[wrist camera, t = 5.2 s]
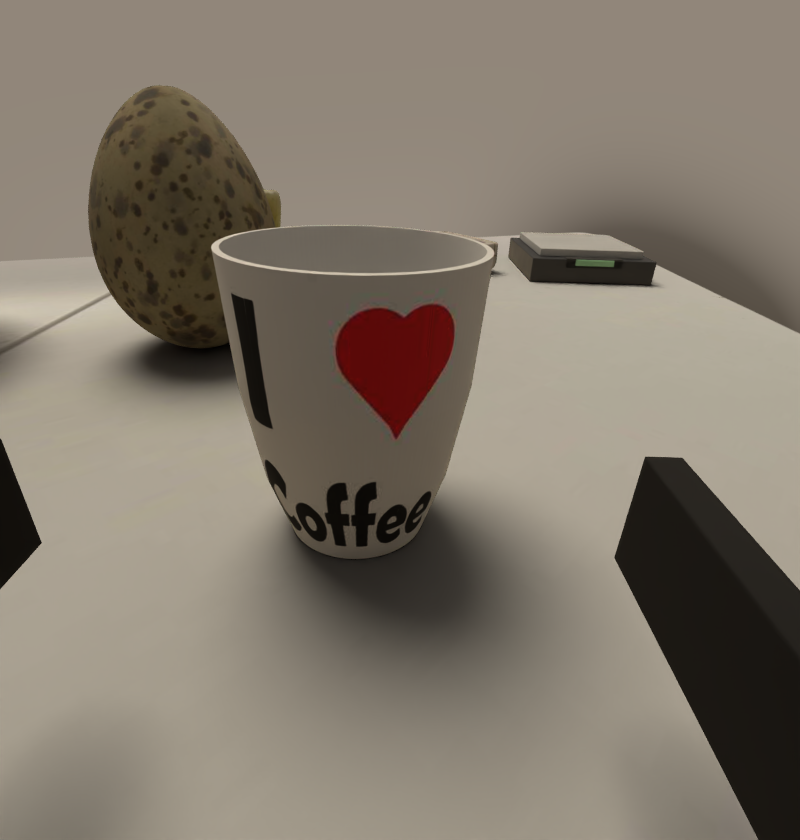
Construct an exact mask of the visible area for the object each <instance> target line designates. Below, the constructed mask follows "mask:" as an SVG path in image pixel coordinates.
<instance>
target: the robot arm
mask: <svg viewBox="0 0 800 840" xmlns="http://www.w3.org/2000/svg"><path fill="white" fill-rule="evenodd" d="M40 544H41V540H40V537H39V535H38V532H37V530H36V527H35V525H34V522H33V520H32V517H31V514H30V512H29V509H28V507H27V504H26V502H25V499H24V497H23V494H22V491H21V489H20V486H19V484H18V481H17V479H16V476H15V474H14V471H13V468H12V466H11V463H10V461H9V458H8V456H7V453H6V451H5V448H4V445H3V443H2V440H1V439H0V589H1V588H2V587H3V586H4V584H5V583H6V582H7V581H8V580H9V579H10V578H11V577H12V575H13V574H14V573H15V572H16V571H17V570H18V569H19V568H20V567H21V565H22V564H23V563H24V562H25V561H26V560H27V559H28V558H29V557H30V555H31V554H32V553H33V552H34V551H35V550H36V549H37V548H38V546H39V545H40ZM615 560H616V562H617V564H618V566H619V568H620V569H621V571H622V573H623V575H624V577H625V579H626V581H627V583H628V585H629V587H630V589H631V591H632V593H633V595H634V597H635V599H636V601H637V603H638V605H639V607H640V609H641V611H642V613H643V615H644V616H645V618H646V620H647V622H648V624H649V626H650V628H651V630H652V632H653V634H654V636H655V638H656V640H657V642H658V644H659V646H660V648H661V650H662V652H663V654H664V656H665V658H666V660H667V662H668V663H669V665H670V667H671V669H672V671H673V673H674V675H675V677H676V679H677V681H678V683H679V685H680V687H681V689H682V691H683V693H684V695H685V697H686V699H687V701H688V703H689V705H690V707H691V709H692V711H693V712H694V714H695V716H696V718H697V720H698V722H699V724H700V726H701V728H702V730H703V732H704V734H705V736H706V738H707V740H708V742H709V744H710V746H711V748H712V750H713V752H714V754H715V756H716V758H717V759H718V761H719V763H720V765H721V767H722V769H723V771H724V773H725V775H726V777H727V779H728V781H729V783H730V785H731V787H732V789H733V791H734V793H735V795H736V797H737V799H738V801H739V803H740V805H741V806H742V808H743V810H744V812H745V814H746V816H747V818H748V820H749V822H750V824H751V826H752V828H753V830H754V832H755V834H756V836H757V838H758V840H800V590H799V589H798V588H797V587H796V586H795V585H794V584H793V582H792V581H791V580H790V579H789V578H788V577H787V576H786V574H785V573H784V572H783V571H782V570H781V569H780V568H779V567H778V565H777V564H776V563H775V562H774V561H773V560H772V559H771V558H770V556H769V555H768V554H767V553H766V552H765V551H764V550H763V548H762V547H761V546H760V545H759V544H758V543H757V542H756V541H755V539H754V538H753V537H752V536H751V535H750V534H749V533H748V532H747V530H746V529H745V528H744V527H743V526H742V525H741V524H740V523H739V521H738V520H737V519H736V518H735V517H734V516H733V515H732V513H731V512H730V511H729V510H728V509H727V508H726V507H725V506H724V504H723V503H722V502H721V501H720V500H719V499H718V498H717V497H716V495H715V494H714V493H713V492H712V491H711V490H710V489H709V488H708V486H707V485H706V484H705V483H704V482H703V481H702V480H701V478H700V477H699V476H698V475H697V474H696V473H695V472H694V471H693V469H692V468H691V467H690V466H689V465H688V464H687V463H686V462H685V460H684V459H683V458H671V457H645V459H644V462H643V466H642V469H641V472H640V476H639V479H638V482H637V485H636V489H635V492H634V495H633V499H632V502H631V505H630V508H629V512H628V515H627V518H626V522H625V525H624V528H623V531H622V535H621V538H620V541H619V544H618V548H617V551H616V554H615Z"/></svg>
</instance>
